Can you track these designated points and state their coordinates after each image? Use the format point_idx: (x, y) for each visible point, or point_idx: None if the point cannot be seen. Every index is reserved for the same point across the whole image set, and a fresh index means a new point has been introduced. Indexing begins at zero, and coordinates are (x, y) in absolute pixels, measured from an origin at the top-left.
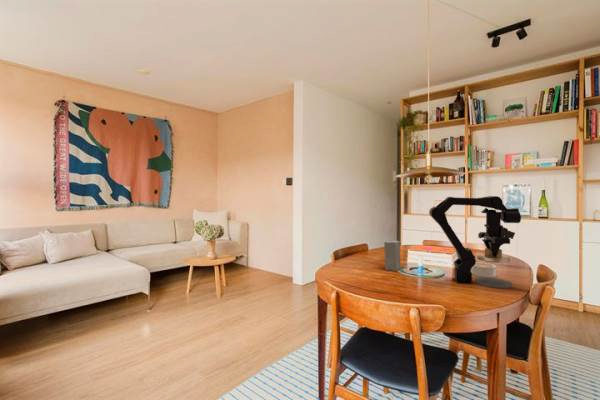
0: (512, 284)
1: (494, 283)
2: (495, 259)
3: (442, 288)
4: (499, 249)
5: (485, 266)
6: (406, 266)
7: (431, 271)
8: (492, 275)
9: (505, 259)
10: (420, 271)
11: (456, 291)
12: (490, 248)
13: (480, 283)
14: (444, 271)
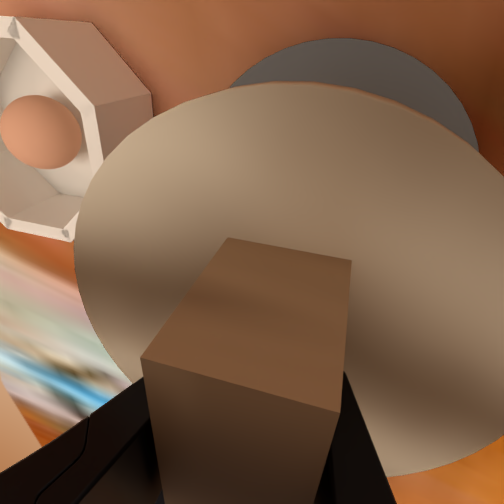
0: (417, 60)
1: None
2: (424, 399)
3: (404, 480)
4: (276, 425)
5: (32, 128)
6: (56, 415)
7: (108, 374)
8: (142, 97)
9: (461, 257)
10: None
11: (466, 463)
12: (154, 473)
13: None
14: (87, 322)
